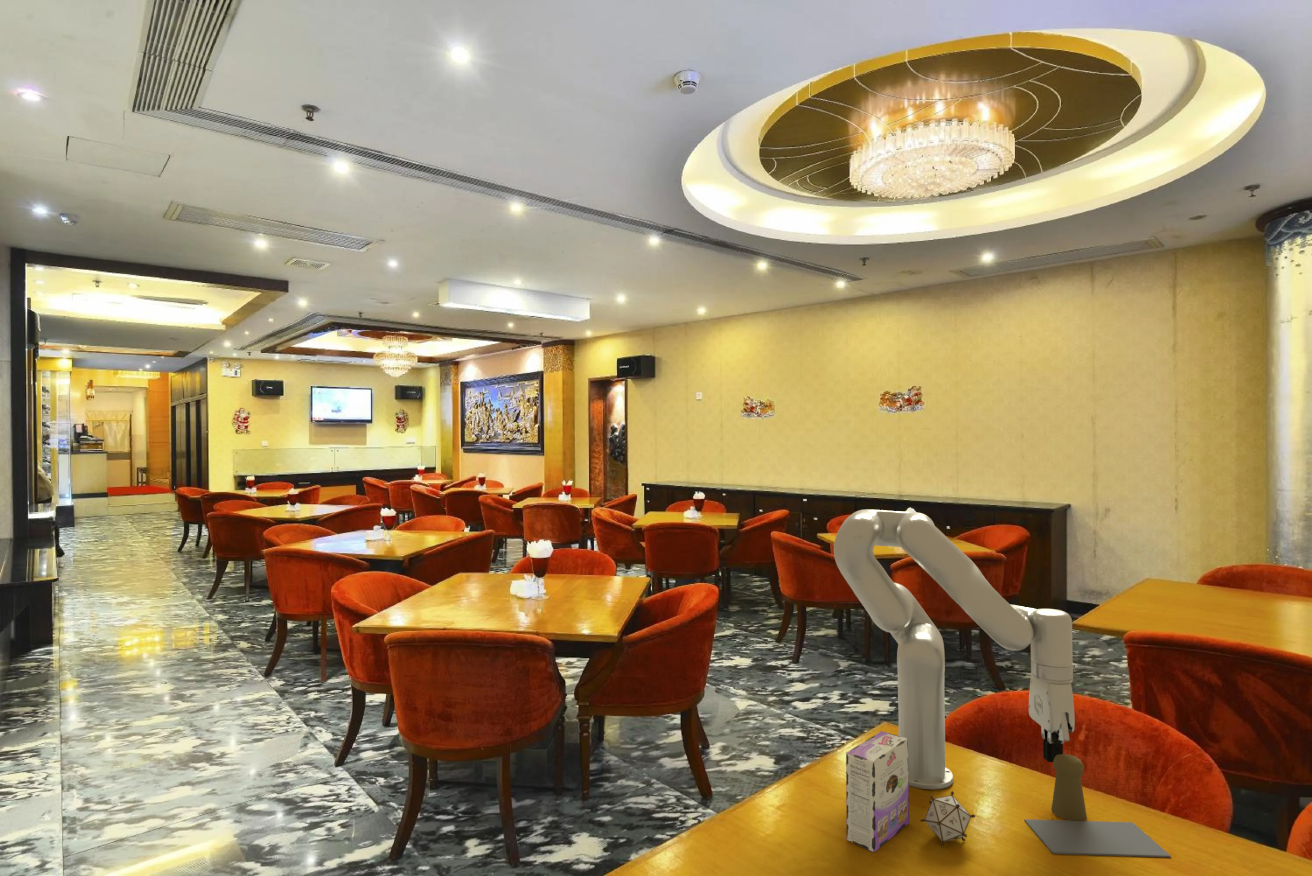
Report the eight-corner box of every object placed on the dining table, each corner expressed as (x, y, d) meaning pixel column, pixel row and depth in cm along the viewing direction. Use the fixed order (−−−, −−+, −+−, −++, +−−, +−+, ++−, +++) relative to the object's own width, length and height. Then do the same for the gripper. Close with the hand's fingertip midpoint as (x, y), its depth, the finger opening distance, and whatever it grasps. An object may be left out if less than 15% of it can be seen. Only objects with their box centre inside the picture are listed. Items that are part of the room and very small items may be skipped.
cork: (1047, 813, 139) (1046, 757, 139) (1055, 802, 143) (1055, 747, 143) (1082, 824, 135) (1082, 766, 135) (1090, 812, 139) (1089, 756, 139)
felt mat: (1052, 853, 125) (1052, 852, 125) (1024, 821, 136) (1024, 819, 136) (1170, 857, 124) (1170, 855, 124) (1132, 824, 135) (1132, 822, 135)
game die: (958, 865, 128) (983, 838, 122) (912, 843, 130) (934, 816, 124) (959, 820, 135) (982, 793, 130) (915, 800, 137) (936, 772, 131)
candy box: (881, 813, 139) (881, 729, 140) (910, 824, 135) (909, 738, 135) (845, 840, 130) (844, 750, 130) (874, 853, 125) (873, 760, 126)
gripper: (1016, 659, 153) (1017, 745, 153) (1051, 682, 138) (1052, 777, 138) (1052, 660, 153) (1053, 745, 152) (1090, 683, 138) (1092, 777, 137)
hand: (1053, 760), depth 145 cm, fingers closed
